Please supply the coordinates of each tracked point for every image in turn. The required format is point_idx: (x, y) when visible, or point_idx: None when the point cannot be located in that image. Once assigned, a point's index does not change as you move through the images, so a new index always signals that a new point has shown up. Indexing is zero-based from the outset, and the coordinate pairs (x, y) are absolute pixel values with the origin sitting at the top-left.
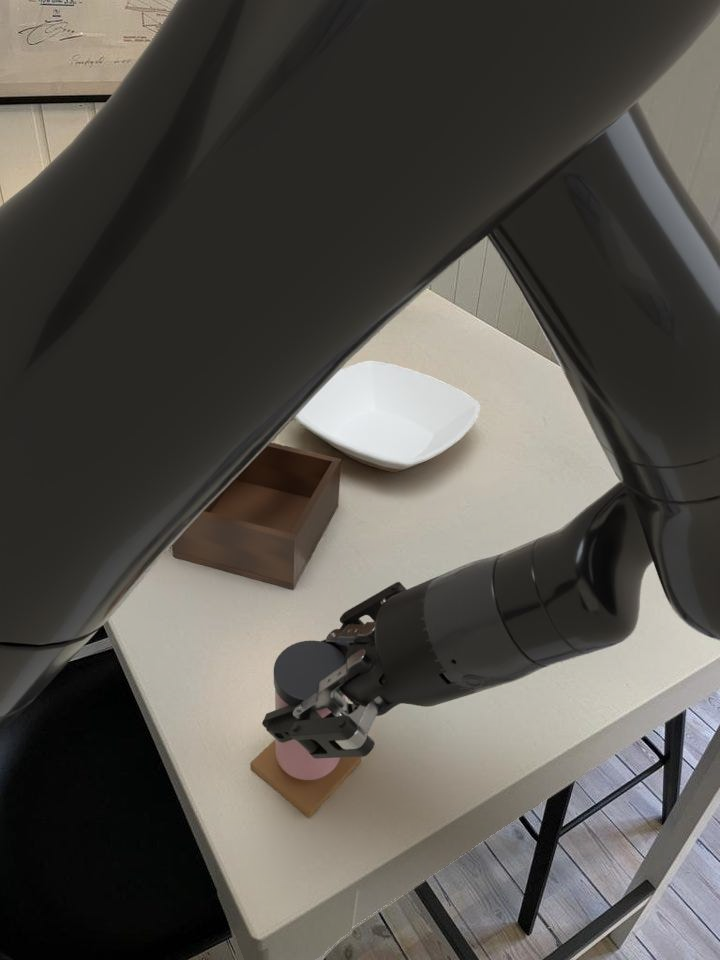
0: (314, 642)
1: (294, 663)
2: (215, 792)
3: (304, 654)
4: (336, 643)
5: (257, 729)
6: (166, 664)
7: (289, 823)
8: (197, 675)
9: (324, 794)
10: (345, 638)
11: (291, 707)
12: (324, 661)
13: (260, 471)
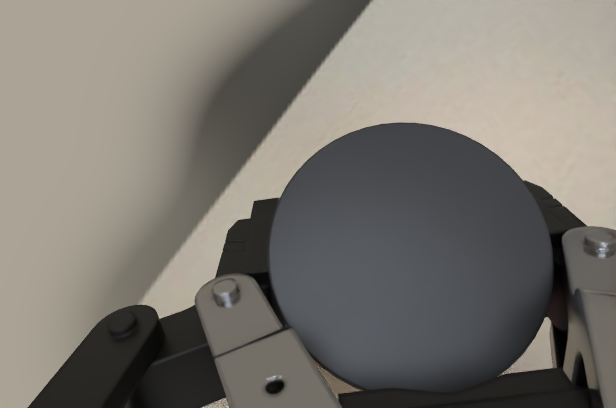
0: (524, 199)
1: (396, 183)
2: (261, 194)
3: (452, 194)
4: (566, 281)
5: None
6: (422, 6)
7: None
8: (431, 54)
9: None
10: (587, 336)
11: (261, 257)
12: (464, 275)
13: None
